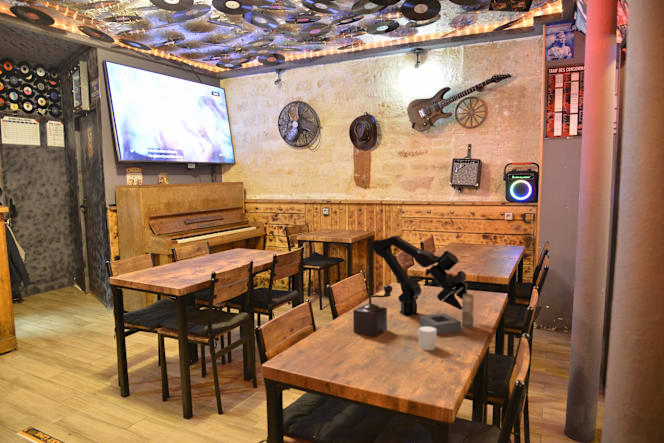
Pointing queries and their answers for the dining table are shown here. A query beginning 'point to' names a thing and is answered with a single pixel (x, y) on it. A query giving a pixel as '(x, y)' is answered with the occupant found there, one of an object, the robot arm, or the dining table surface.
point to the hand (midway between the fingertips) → (466, 306)
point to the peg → (467, 310)
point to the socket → (441, 323)
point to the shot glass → (427, 337)
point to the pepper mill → (371, 316)
